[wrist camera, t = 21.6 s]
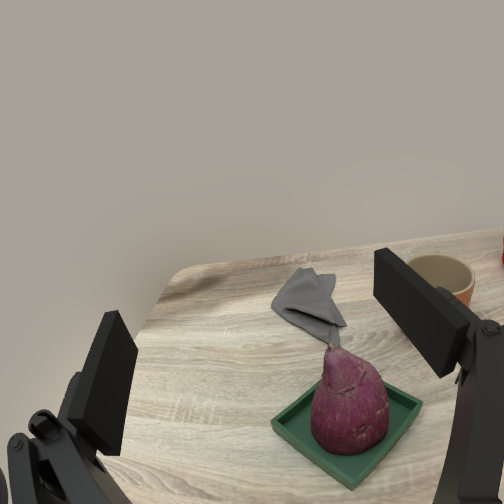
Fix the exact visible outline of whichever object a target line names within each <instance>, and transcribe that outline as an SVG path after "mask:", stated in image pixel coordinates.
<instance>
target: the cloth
mask: <svg viewBox="0 0 504 504" xmlns="http://www.w3.org/2000/svg"><path fill="white" fill-rule="evenodd" d="M334 284H335V274H321V275H316V273H314V270H313V268H307V269H302V268H298V269H297V271H296V272H295V273H294V274H293V276H292V277H291V278H290V279H289V280H288V281H287V283H286V284H285V285H284V286H283V287H282V288H281V290H280V291H279V293H278V294H277V296H276V297H275V298H274V300H273V301H272V306H271V308H272V309H273V310H275V311H276V312H277V313H278V314H279V315H281V316H282V317H283V318H284V319H286V320H288V321H290V322H291V323H293V324H295V325H297V326H298V327H301V328H303V329H306V330H307V331H308V332H309V333H310V334H312V335H313V336H315V337H317V338H319V339H321V340H323V341H325V342H327V343H329V344H330V343H331V342H333V344H335V345H337V346H339V347H340V341H339V335H338V330H337V325H338V326H339V327H341V326H347V325H346V323H345V321H344V320H343V318H342V316H341V314H340V313H339V311H338V309H337V308H336V306H335V304H334V302H333V300H332V298H330V294H331V292H332V291H333V288H334ZM336 324H337V325H336Z"/></svg>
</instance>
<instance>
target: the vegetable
mask: <svg viewBox="0 0 504 504" xmlns="http://www.w3.org/2000/svg"><path fill="white" fill-rule="evenodd" d="M323 369H324V370H323V373H322V378H321V380H320V382H319V384H318V385H317V387H316V390H315V393H314V396H313V401H312V407H311V419H310V423H311V433H312V436H313V437H314V439H315V440H316V441H317V443H318V444H319V445H320V446H321V447H322V448H323V449H324V450H325V451H327V452H329V453H331V454H336V455H356V454H360V453H363V452H365V451H367V450H369V449H370V448H372V447H374V446H376V445H377V444H378V443H380V442H381V441H382V440H383V439H384V438H385V436H386V434H387V431H388V427H389V401H388V395H387V391H386V388H385V386H384V383H383V380H382V378H381V376H380V375H379V373H378V372H377V370H376V369H375V368H374V367H373V366H372V365H371V364H370V363H369V362H367V361H365V360H363V359H362V358H359V357H357V356H355V355H353V354H351V353H350V352H348V351H347V350H344V349H343V348H341V347H339V346H337V345H335V344H333V342H331V343H330V344H329V347H328V348H327V349H326V352H325V355H324V366H323Z"/></svg>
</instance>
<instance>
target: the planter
mask: <svg viewBox="0 0 504 504" xmlns="http://www.w3.org/2000/svg"><path fill="white" fill-rule="evenodd" d="M405 263H406V264H407V265H409V266H410V267H411V268H412V269H413V270H414V271H416V272H417V273H418V274H419V275H420V276H421V277H422V278H424V279H425V280H426V281H427V282H428V283H429V284H430V285H432V286H433V287H434V288H436V287H439V286H440V287H442V288H445V289H447V290H449V291H450V292H451V293H452V294H453V295H455V296H456V298H458V299H459V300H460V301H461V302H462V303H464V304H465V305H466V306H467V307H468V306H469V303H470V300H471V296H472V293H473V289H474V284H475V274H474V271H473V269H472V268H471V267H470V266H469V265H468V264H467V263H466V262H465V261H463V260H461V259H460V258H457V257H455V256H452V255H449V254H444V253H423V254H419V255H415V256H413V257H411V258H409V259H408V260H407V261H406V262H405Z"/></svg>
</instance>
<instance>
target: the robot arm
mask: <svg viewBox="0 0 504 504" xmlns="http://www.w3.org/2000/svg"><path fill="white" fill-rule="evenodd" d="M373 296H374V297H375V298H376V299H377V300H378V302H379V303H380V304H381V305H382V306H383V307H384V309H385V310H386V311H387V312H388V313H389V315H390V316H391V317H392V318H393V320H394V321H395V322H396V323H397V324H398V326H399V327H400V328H401V329H402V331H403V332H404V333H405V334H406V336H407V337H408V338H409V339H410V341H411V342H412V343H413V344H414V346H415V347H416V348H417V350H418V351H419V352H420V353H421V355H422V356H423V357H424V359H425V360H426V361H427V362H428V364H429V365H430V366H431V368H432V369H433V370H434V372H435V373H436V374H437V376H438V377H439V378H442V377H444V376H446V375H448V374H450V373H451V372H453V371H454V368H455V366H456V363H457V362H458V363H459V364H460V366H461V369H460V372H459V374H458V376H457V379H456V381H455V384H457V383H458V380H459V383H458V392H457V400H456V407H455V414H454V420H453V425H452V431H451V436H450V441H449V446H448V450H447V454H446V459H445V463H444V467H443V470H442V474H441V478H440V481H439V484H438V488H437V491H436V494H435V497H434V500H433V503H432V504H502V501H501V500H500V499H499V498H498V491H499V486H500V481H501V475H502V469H503V462H504V325H502V326H500V324H499V323H497V322H495V321H493V320H481V319H480V318H479V317H478V316H477V315H475V314H474V313H473V312H472V311H471V310H470V309H469V308H468V307H467V306H466V305H465V304H464V303H462V302H461V301H460V300H459V299H458V298H456V296H455V295H453V294H452V293H451V292H450V291H449V290H447V289H445V288H442V287H440V286H439V287H436V288H434V287H433V286H432V285H430V284H429V283H428V282H427V281H426V280H425V279H424V278H422V277H421V276H420V275H419V274H418V273H417V272H416V271H414V270H413V269H412V268H411V267H410V266H409V265H407V264H406V263H405V262H404V261H403V260H401V259H400V258H399V257H398V256H397V255H395V254H394V253H393V252H392V251H391V250H389V249H388V248H383V249H379V250H376V251H374V290H373ZM137 355H138V348H137V347H136V345H135V343H134V341H133V339H132V337H131V335H130V333H129V332H128V329H127V328H126V326H125V324H124V322H123V320H122V318H121V316H120V313H119V312H118V310H116V311H110V312H105V314H104V316H103V319H102V321H101V323H100V326H99V328H98V331H97V333H96V336H95V338H94V341H93V343H92V345H91V348H90V351H89V353H88V356H87V358H86V361H85V364H84V367H83V369H82V372H76V373H75V375H74V376H73V377H72V379H71V380H70V382H69V385H68V388H67V391H66V393H65V398H64V399H63V402H62V405H61V408H60V411H59V414H58V417H57V418H56V417H55V416H54V415H53V414H52V413H51V412H50V411H49V410H46V409H45V410H40V411H38V412H36V413H35V414H34V415H33V416H32V417H31V419H30V421H29V424H28V428H29V431H30V432H31V433H32V434H33V435H34V436H35V437H36V438H33V439H29V438H28V437H27V436H26V435H25V434H24V433H16V434H15V435H13V436H12V437H11V438H10V440H9V442H8V446H7V454H8V470H9V480H10V489H11V496H12V503H13V504H132V503H131V501H130V500H129V499H128V498H127V496H126V495H125V494H124V493H123V491H122V490H121V489H120V487H119V486H118V485H117V483H116V482H115V481H114V479H113V478H112V476H111V475H110V474H109V472H108V471H107V469H106V468H105V467H104V465H103V464H102V462H101V461H100V459H99V458H98V457H97V456H96V452H97V449H98V450H99V451H100V452H101V453H102V454H103V455H105V456H120V452H121V445H122V438H123V431H124V424H125V418H126V412H127V406H128V400H129V395H130V389H131V384H132V379H133V374H134V369H135V364H136V359H137Z"/></svg>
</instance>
